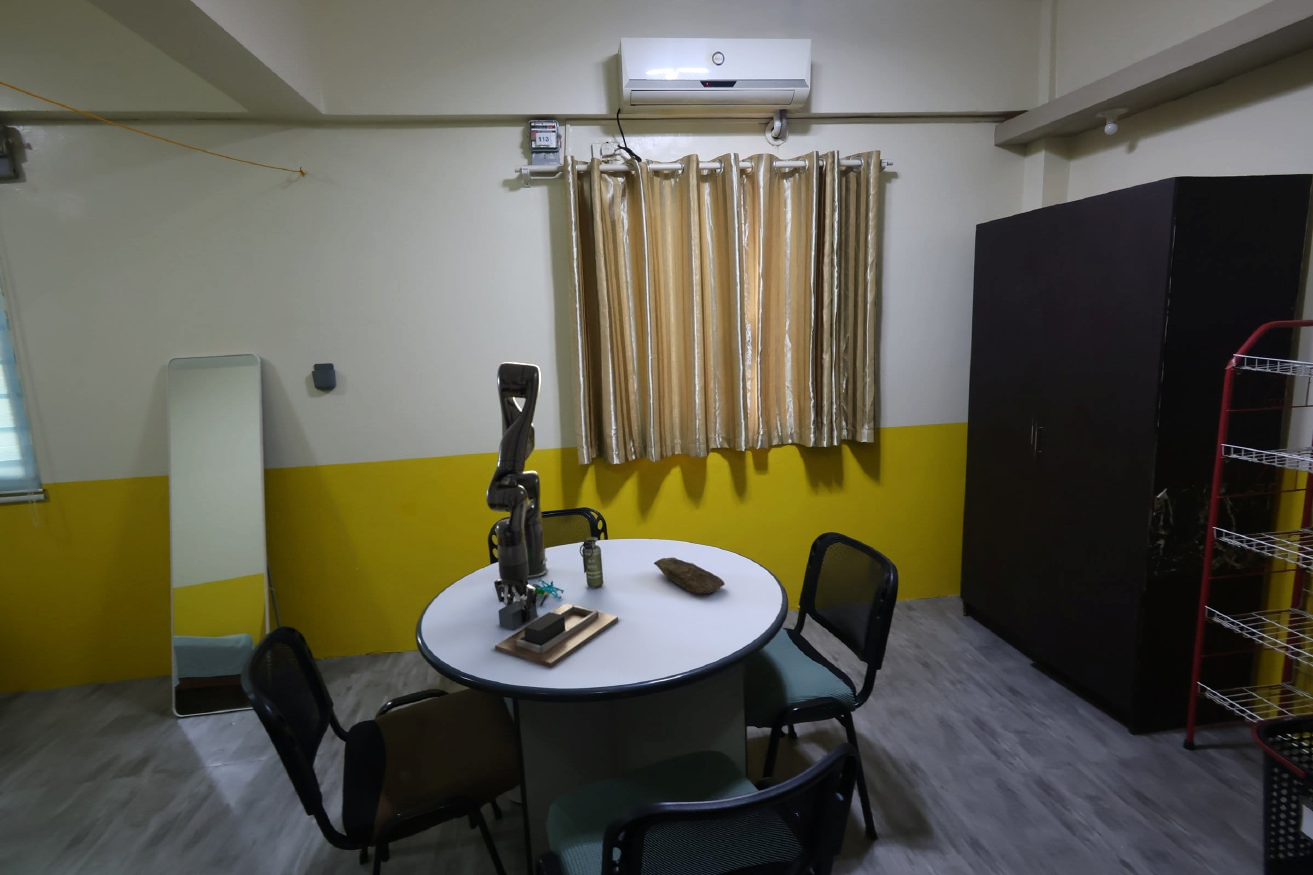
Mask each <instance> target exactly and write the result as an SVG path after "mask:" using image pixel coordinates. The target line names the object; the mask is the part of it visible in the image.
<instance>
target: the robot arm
mask: <svg viewBox="0 0 1313 875" xmlns="http://www.w3.org/2000/svg"><path fill="white" fill-rule="evenodd" d="M541 377H542V376H541V371H540V367H539V366H538V365H536V364H529V363H520V362H503V363H501V364H500V365H499V366H498V368H497V374H496V380H497V381H496V385H497V393H498V400H499V406H500V412H501V439H500V442H499V445H498V446H499V448H498V454H497V464H496V468H495V470H494V473H493V475H492V477H491V480H490V483H489V485H488V487H487V491H486V495H485V500H486V502H485V503H486V505H487V506H488V509H490V510H491V511H493V512H498V513H499V512H502V513H509V518H505V519H502V520H499V521H498V522H497V523H496V526H495V531H496V543H497V561H498V573H499V579H496V580H495V581H494V582H493V584H494V585H493V586H494V588H495V592H496V595H497V599H498V602H499V603H500V604H501V603H502V604H503V605H504V607H505V606H507V605H509V604H511V603H513V602H515V601H514V600H515V599H516V601H517V602H518V603H520V606H521V609H522V610H521V611H522V622H523V623H525V624H527V623H529V622H531V621H532V620H531V615H530V609H531V608H533V607H534V606H536V605H537V598H538V597H537V590H538V588H537V586H534V587H532V585H530V583H529V580H528V579H535V578H539V577H541V576H544V575H546V574H547V572H548V569H547V561H548V557H546V547H545V537H544V525H543V515H542V501H541V481H540V480H541V479H540V476H539V473H538V472H537V471H536V470H528V471H525V469H526V462H527V460H528V459H529V458H530V457H531V455H532V453H533V452H534V449H535V445H536V430H535V426H534V424H533V422H534V417H535V413H536V408H537V404H538V399H539V395H540V389H541V380H542V378H541ZM516 398H517V399H524V403H523V406H522V409H521V407H520V406H519V404H518V403H517V402H516ZM522 597H523V598H522ZM524 600H525V602H526V605H525V604H524ZM531 602H532V603H531Z"/></svg>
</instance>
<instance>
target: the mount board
mask: <svg viewBox="0 0 1313 875" xmlns="http://www.w3.org/2000/svg"><path fill="white" fill-rule="evenodd" d="M550 612H551V613H555V614H559V615H563V616H564V618H565V631H563V632H562V633H560V634H559V635H557V636H556V637H554V638H553V639H551V640H549V641H548V642H546V643H545V644H543V645H542V646H540V645H537V644H533V643H530V642H527V641H525V631H524V628H522V629H521V630H519V631H517V632H515V633H513V634H512V635H510V636H509V637H507V638H505V639H503V640H502V641H500V642H499V643H496V644H495V645H494V650H495V651H497V652H500V653H503V654H507V655H510V656H512V657H515V658H519V659H522V660H525V661H528V662H531V663H535V664H538V665H540V666H544V667H547V668H550V669H552V668H553V667H555V666H556V665H558V664H559V663H560V662H562V661H563V660H564V659H566V658H568V657H569V656H570V655H572V654H573V653H574V652H576V651H578V650H579V649H580V648H582V647H583V646H584V645H586V644H587V643H589V642H590V641H591V640H593V639H595V638H596V637H597V636H599V635H600V634H602V633H603V632H605V631H606V630H607V629H609V628H610V627H611V626H613V625H615V624H616V623H617V622H618V621H619V616H617V615H613V614H608V613H606V612H605V613H604V612H600V611H598V610H596V609H590V608H587V607H583V606H578V605H576V604H575V605H574V604H572V605H571V604H568V603H564V604H563V605H561V606H559V607H558V608H556V609H554V610H553V611H550Z"/></svg>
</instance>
